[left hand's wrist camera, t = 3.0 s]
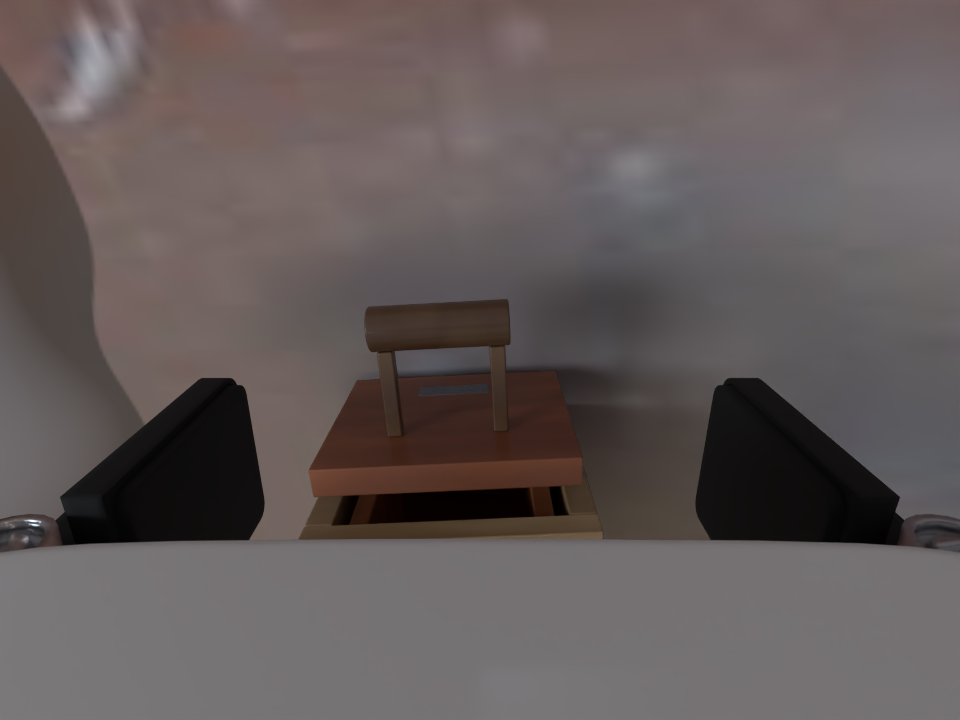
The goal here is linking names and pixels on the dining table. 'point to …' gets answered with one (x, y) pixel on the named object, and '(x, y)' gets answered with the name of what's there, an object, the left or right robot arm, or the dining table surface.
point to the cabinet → (464, 521)
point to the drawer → (448, 427)
